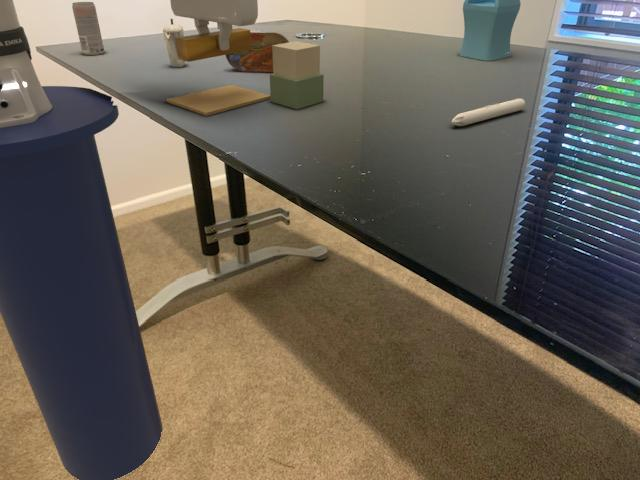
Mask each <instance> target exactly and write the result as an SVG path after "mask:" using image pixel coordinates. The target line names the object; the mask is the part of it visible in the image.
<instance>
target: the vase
mask: <svg viewBox="0 0 640 480" xmlns="http://www.w3.org/2000/svg"><path fill="white" fill-rule="evenodd" d="M521 4H522V3H521V0H464V1H463V5H462V14H463V23H464V25H463V26H464V28H463V29H464V34H463V41H462V45H461V48H460V52H459V56H460V57H463V58H468V59H469V58H470V59H474V60H479V61H486V62H492V61H496V60H497V61H498V60H501V59H505V58H509V57H511V56H512V55H511V38H512V37H511V36H512V32H513V27H514V25H515V21H516V19H517V16H518V14H519V12H520V11H521V10H520V9H521ZM507 52H510V53H507ZM505 53H506V54H505Z"/></svg>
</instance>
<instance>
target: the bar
mask: <svg viewBox="0 0 640 480" xmlns="http://www.w3.org/2000/svg"><path fill="white" fill-rule="evenodd" d="M250 30H251V29H247V28H241V27H238V28H232V32H231V35H230V38H229V49H228V50H224V51H223V50H218V49H217V47H216V45H217V44H216V39H218V38H219V33H220V30H219V31H211V32H210V33H204V34H199V33H197V34H191V35H185V36H184V35H183V37H178V38H175V39H176V46H177V53H178V59H179V60H183V61H185V62H187V63H188V62H189V63H190V62H196V61H200V60H205V59H211V58H217V57H222V56H226V55H227V54H232V53H238V52H243V51H248V50H251V35H250Z"/></svg>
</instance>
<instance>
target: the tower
mask: <svg viewBox="0 0 640 480" xmlns="http://www.w3.org/2000/svg"><path fill="white" fill-rule="evenodd" d="M272 53H273V72H272V73H270V74H269V92H270V94H269V95H270V96H271V99H270V102H271V103H274V104H278V105H281V106H284V107H287V108H292V109H295V110H300V109H303V108H307V107H310V106H313V105H317V104H320V103H323V102H324V79H325V78H324V77H325V76H324V74H323V73H321V45H319V44H315V43H308V42H303V41H299V40H298V41H297V40H295V41H289V43H283V44H278V45H272Z"/></svg>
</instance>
